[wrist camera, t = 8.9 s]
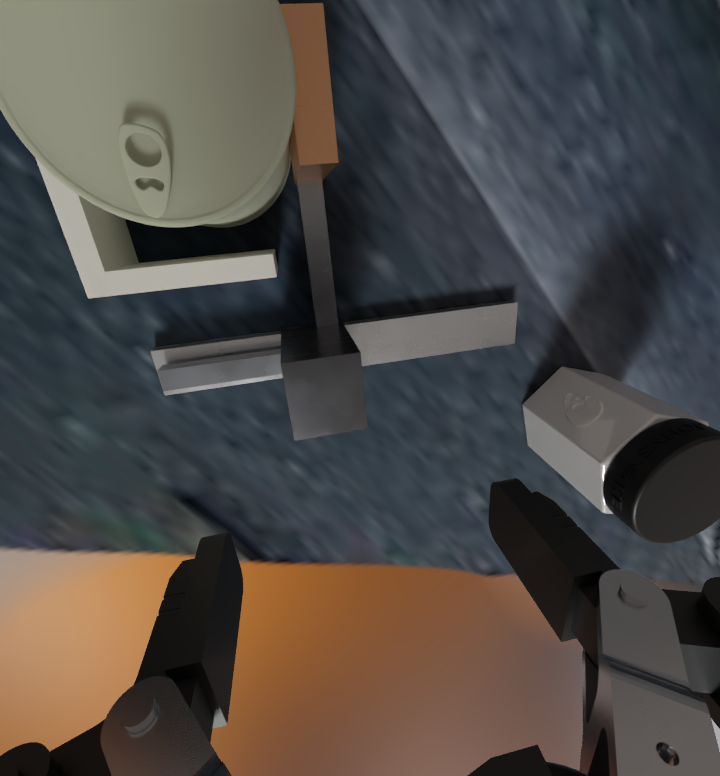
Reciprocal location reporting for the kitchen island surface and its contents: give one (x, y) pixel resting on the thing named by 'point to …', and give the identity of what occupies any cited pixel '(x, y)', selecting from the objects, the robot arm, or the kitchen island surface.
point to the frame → (118, 257)
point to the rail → (372, 338)
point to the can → (154, 103)
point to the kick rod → (328, 334)
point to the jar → (628, 453)
